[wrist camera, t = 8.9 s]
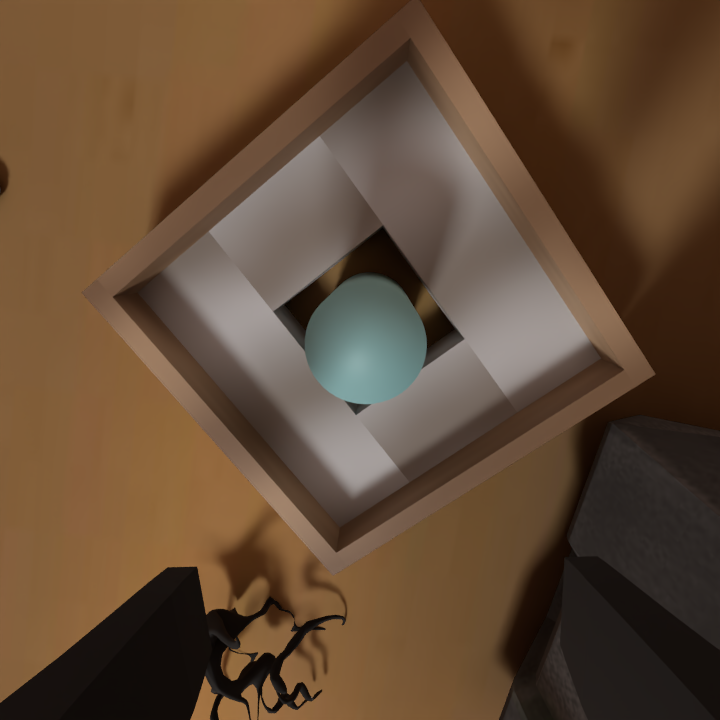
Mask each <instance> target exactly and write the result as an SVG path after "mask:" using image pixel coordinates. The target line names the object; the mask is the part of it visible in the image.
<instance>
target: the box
mask: <svg viewBox="0 0 720 720" xmlns="http://www.w3.org/2000/svg"><path fill="white" fill-rule="evenodd" d="M382 228H383V229H384V230H385V232H386V233H387V235H388V236H389V237H390V239H391V240H392V242H393V243H394V244H395V246H396V247H397V249H398V250H399V251H400V253H401V254H402V256H403V257H404V258H405V260H406V261H407V263H408V264H409V265H410V267H411V268H412V270H413V271H414V272H415V274H416V275H417V277H418V278H419V279H420V281H421V282H422V283H423V285H424V286H425V288H426V289H427V290H428V292H429V293H430V295H431V296H432V297H433V299H434V300H435V302H436V303H437V304H438V306H439V307H440V309H441V310H442V311H443V313H444V314H445V316H446V317H447V318H448V320H449V321H450V323H451V324H452V325H453V327H454V328H455V329H454V330H453V331H451V332H450V333H449V334H447V335H446V336H444V337H443V338H441V339H440V340H439V341H437V342H436V343H434V344H433V345H432V346H430V347H429V348H427V350H426V357H425V361H424V364H423V367H422V369H421V371H420V373H419V375H418V376H417V378H416V379H415V381H414V382H413V383H412V384H411V385H410V386H409V387H408V388H407V389H406V390H405V391H403V392H402V393H401V394H399V395H398V396H396V397H394V398H392V399H390V400H387V401H384V402H380V403H375V404H357V403H352V402H348V401H345V400H342V399H340V398H338V397H336V396H334V395H333V394H331V393H330V392H328V391H327V390H326V389H325V388H323V386H322V385H321V384H320V383H319V382H318V381H317V380H316V378H315V377H314V375H313V373H312V372H311V370H310V368H309V365H308V362H307V359H306V355H305V334H306V331H305V330H304V328H303V327H302V326H301V325H300V323H299V322H298V321H297V320H296V318H295V317H294V316H293V315H292V313H291V312H290V311H289V309H288V308H287V307H286V306H285V304H286V303H287V302H289V301H290V300H291V299H293V298H294V297H295V296H296V295H298V294H299V293H300V292H301V291H303V290H304V289H305V288H307V287H308V286H309V285H310V284H312V283H313V282H314V281H315V280H317V279H318V278H319V277H321V276H322V275H323V274H324V273H326V272H327V271H328V270H329V269H331V268H332V267H333V266H335V265H336V264H337V263H338V262H340V261H341V260H342V259H343V258H345V257H346V256H347V255H349V254H350V253H351V252H352V251H354V250H355V249H356V248H357V247H359V246H360V245H361V244H363V243H364V242H365V241H366V240H368V239H369V238H370V237H372V236H373V235H374V234H375V233H377V232H378V231H379V230H380V229H382ZM82 294H83V295H84V296H85V297H86V298H87V299H88V300H89V302H90V303H91V304H92V305H93V306H94V307H95V308H96V309H97V311H98V312H99V313H100V314H101V315H102V316H103V317H104V318H105V320H106V321H107V322H108V323H109V324H110V325H111V326H112V327H113V329H114V330H115V331H116V332H117V333H118V334H119V335H120V336H121V338H122V339H123V340H124V341H125V342H126V343H127V344H128V345H129V347H130V348H131V349H132V350H133V351H134V352H135V353H136V354H137V356H138V357H139V358H140V359H141V360H142V361H143V362H144V363H145V365H146V366H147V367H148V368H149V369H150V370H151V371H152V372H153V374H154V375H155V376H156V377H157V378H158V379H159V380H160V381H161V383H162V384H163V385H164V386H165V387H166V388H167V389H168V390H169V392H170V393H171V394H172V395H173V396H174V397H175V398H176V399H177V401H178V402H179V403H180V404H181V405H182V406H183V407H184V409H185V410H186V411H187V412H188V413H189V414H190V415H191V416H192V418H193V419H194V420H195V421H196V422H197V423H198V424H199V425H200V427H201V428H202V429H203V430H204V431H205V432H206V433H207V434H208V436H209V437H210V438H211V439H212V440H213V441H214V442H215V443H216V445H217V446H218V447H219V448H220V449H221V450H222V451H223V452H224V454H225V455H226V456H227V457H228V458H229V459H230V460H231V461H232V463H233V464H234V465H235V466H236V467H237V468H238V469H239V470H240V472H241V473H242V474H243V475H244V476H245V477H246V478H247V479H248V481H249V482H250V483H251V484H252V485H253V486H254V487H255V488H256V490H257V491H258V492H259V493H260V494H261V495H262V496H263V497H264V499H265V500H266V501H267V502H268V503H269V504H270V505H271V506H272V508H273V509H274V510H275V511H276V512H277V513H278V514H279V515H280V517H281V518H282V519H283V520H284V521H285V522H286V523H287V524H288V526H289V527H290V528H291V529H292V530H293V531H294V532H295V533H296V535H297V536H298V537H299V538H300V539H301V540H302V541H303V543H304V544H305V545H306V546H307V547H308V548H309V549H310V550H311V552H312V553H313V554H314V555H315V556H316V557H317V558H318V559H319V561H320V562H321V563H322V564H323V565H324V566H325V567H326V568H327V570H328V571H329V572H330V573H331V574H332V575H335V574H337V573H338V572H340V571H341V570H343V569H345V568H346V567H348V566H349V565H351V564H353V563H354V562H356V561H357V560H359V559H361V558H362V557H364V556H365V555H367V554H369V553H370V552H372V551H373V550H375V549H377V548H378V547H380V546H381V545H383V544H385V543H386V542H388V541H389V540H391V539H393V538H394V537H396V536H397V535H399V534H401V533H402V532H404V531H406V530H407V529H409V528H410V527H412V526H414V525H415V524H417V523H418V522H420V521H422V520H423V519H425V518H426V517H428V516H430V515H431V514H433V513H434V512H436V511H438V510H439V509H441V508H442V507H444V506H446V505H447V504H449V503H450V502H452V501H454V500H455V499H457V498H458V497H460V496H462V495H463V494H465V493H466V492H468V491H470V490H471V489H473V488H474V487H476V486H478V485H479V484H481V483H482V482H484V481H486V480H487V479H489V478H490V477H492V476H494V475H495V474H497V473H498V472H500V471H502V470H503V469H505V468H506V467H508V466H510V465H511V464H513V463H514V462H516V461H518V460H519V459H521V458H522V457H524V456H526V455H527V454H529V453H530V452H532V451H534V450H535V449H537V448H538V447H540V446H542V445H543V444H545V443H546V442H548V441H550V440H551V439H553V438H554V437H556V436H558V435H559V434H561V433H562V432H564V431H566V430H567V429H569V428H570V427H572V426H574V425H575V424H577V423H578V422H580V421H582V420H583V419H585V418H586V417H588V416H590V415H591V414H593V413H595V412H596V411H598V410H599V409H601V408H603V407H604V406H606V405H607V404H609V403H611V402H612V401H614V400H615V399H617V398H619V397H620V396H622V395H623V394H625V393H627V392H628V391H630V390H631V389H633V388H635V387H636V386H638V385H639V384H641V383H643V382H644V381H646V380H647V379H649V378H651V377H652V376H654V375H655V372H654V371H653V369H652V368H651V366H650V364H649V363H648V361H647V360H646V358H645V357H644V355H643V353H642V352H641V350H640V349H639V347H638V345H637V344H636V342H635V341H634V339H633V338H632V336H631V334H630V333H629V331H628V330H627V328H626V326H625V325H624V323H623V322H622V320H621V318H620V317H619V315H618V314H617V312H616V311H615V309H614V307H613V306H612V304H611V303H610V301H609V299H608V298H607V296H606V295H605V293H604V292H603V290H602V288H601V287H600V285H599V284H598V282H597V280H596V279H595V277H594V276H593V274H592V272H591V271H590V269H589V268H588V266H587V265H586V263H585V261H584V260H583V258H582V257H581V255H580V253H579V252H578V250H577V249H576V247H575V246H574V244H573V242H572V241H571V239H570V238H569V236H568V234H567V233H566V231H565V230H564V228H563V226H562V225H561V223H560V222H559V220H558V219H557V217H556V215H555V214H554V212H553V211H552V209H551V207H550V206H549V204H548V203H547V201H546V200H545V198H544V196H543V195H542V193H541V192H540V190H539V188H538V187H537V185H536V184H535V182H534V180H533V179H532V177H531V176H530V174H529V173H528V171H527V169H526V168H525V166H524V165H523V163H522V161H521V160H520V158H519V157H518V155H517V154H516V152H515V150H514V149H513V147H512V146H511V144H510V142H509V141H508V139H507V138H506V136H505V134H504V133H503V131H502V130H501V128H500V127H499V125H498V123H497V122H496V120H495V119H494V117H493V115H492V114H491V112H490V111H489V109H488V108H487V106H486V104H485V103H484V101H483V100H482V98H481V96H480V95H479V93H478V92H477V90H476V88H475V87H474V85H473V84H472V82H471V81H470V79H469V77H468V76H467V74H466V73H465V71H464V69H463V68H462V66H461V65H460V63H459V61H458V60H457V58H456V57H455V55H454V54H453V52H452V50H451V49H450V47H449V46H448V44H447V42H446V41H445V39H444V38H443V36H442V35H441V33H440V31H439V30H438V28H437V27H436V25H435V23H434V22H433V20H432V19H431V17H430V15H429V14H428V12H427V11H426V9H425V8H424V6H423V4H422V3H421V1H420V0H411V1H409V2H408V3H407V4H406V5H405V6H404V7H403V8H401V9H400V10H399V11H398V12H397V13H396V14H395V15H394V16H392V17H391V18H390V19H389V20H388V21H387V22H386V23H385V24H383V25H382V26H381V27H380V28H379V29H378V30H377V31H376V32H374V33H373V34H372V35H371V36H370V37H369V38H368V39H367V40H365V41H364V42H363V43H362V44H361V45H360V46H359V47H358V48H356V49H355V50H354V51H353V52H352V53H351V54H350V55H349V56H347V57H346V58H345V59H344V60H343V61H342V62H341V63H340V64H338V65H337V66H336V67H335V68H334V69H333V70H332V71H331V72H329V73H328V74H327V75H326V76H325V77H324V78H323V79H322V80H320V81H319V82H318V83H317V84H316V85H315V86H314V87H313V88H311V89H310V90H309V91H308V92H307V93H306V94H305V95H304V96H302V97H301V98H300V99H299V100H298V101H297V102H296V103H295V104H293V105H292V106H291V107H290V108H289V109H288V110H287V111H286V112H284V113H283V114H282V115H281V116H280V117H279V118H278V119H277V120H275V121H274V122H273V123H272V124H271V125H270V126H269V127H268V128H266V129H265V130H264V131H263V132H262V133H261V134H260V135H258V136H257V137H256V138H255V139H254V140H253V141H252V142H251V143H249V144H248V145H247V146H246V147H245V148H244V149H243V150H242V151H240V152H239V153H238V154H237V155H236V156H235V157H234V158H233V159H231V160H230V161H229V162H228V163H227V164H226V165H225V166H224V167H222V168H221V169H220V170H219V171H218V172H217V173H216V174H215V175H213V176H212V177H211V178H210V179H209V180H208V181H207V182H206V183H204V184H203V185H202V186H201V187H200V188H199V189H198V190H197V191H195V192H194V193H193V194H192V195H191V196H190V197H189V198H188V199H186V200H185V201H184V202H183V203H182V204H181V205H180V206H179V207H177V208H176V209H175V210H174V211H173V212H172V213H171V214H170V215H168V216H167V217H166V218H165V219H164V220H163V221H162V222H161V223H159V224H158V225H157V226H156V227H155V228H154V229H153V230H152V231H150V232H149V233H148V234H147V235H146V236H145V237H144V238H143V239H141V240H140V241H139V242H138V243H137V244H136V245H135V246H134V247H132V248H131V249H130V250H129V251H128V252H127V253H126V254H124V255H123V256H122V257H121V258H120V259H119V260H118V261H117V262H115V263H114V264H113V265H112V266H111V267H110V268H109V269H108V270H106V271H105V272H104V273H103V274H102V275H101V276H100V277H99V278H97V279H96V280H95V281H94V282H93V283H92V284H91V285H90V286H88V287H87V288H86V289H85V290H84V291H83V292H82Z"/></svg>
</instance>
